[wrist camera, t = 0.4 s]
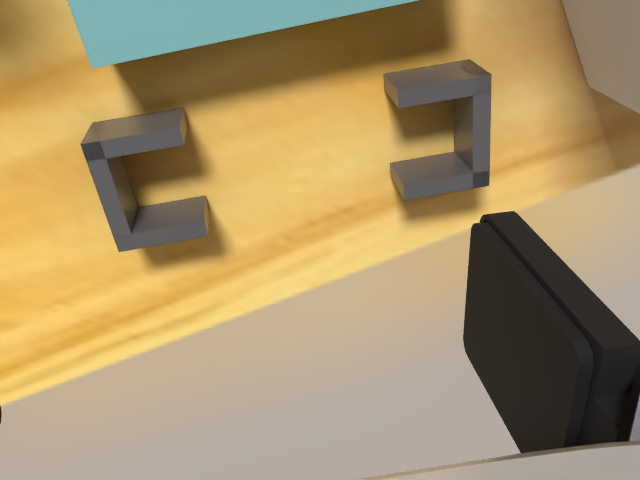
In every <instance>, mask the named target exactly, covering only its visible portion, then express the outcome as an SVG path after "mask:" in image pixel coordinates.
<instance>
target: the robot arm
mask: <svg viewBox="0 0 640 480" xmlns="http://www.w3.org/2000/svg"><path fill="white" fill-rule="evenodd" d="M463 340H464V347H465V351H466V354H467V356H468V358H469V360H470V362H471V363H472V365H473V367H474V369H475V371H476V372H477V374H478V376H479V378H480V380H481V382H482V383H483V385H484V387H485V389H486V391H487V392H488V394H489V396H490V398H491V399H492V401H493V403H494V405H495V407H496V409H497V410H498V412H499V414H500V416H501V417H502V419H503V421H504V423H505V425H506V427H507V429H508V430H509V432H510V434H511V436H512V437H513V439H514V441H515V443H516V445H517V447H518V449H519V450H520V452H521V454H515V455H508V456H502V457H496V458H489V459H482V460H476V461H470V462H462V463H456V464H450V465H444V466H437V467H431V468H425V469H418V470H412V471H406V472H400V473H393V474H387V475H381V476H375V477H368V478H362V479H356V480H640V341H639V339H638V338H637V337H636V336H635V335H634V334H633V333H632V332H631V331H630V330H629V329H628V328H627V327H626V326H625V325H624V324H623V323H622V322H621V321H620V320H619V319H618V318H617V317H616V315H615V314H614V313H613V312H612V311H611V310H610V309H609V308H608V307H607V306H606V305H605V304H604V303H603V302H602V301H601V300H600V299H599V298H598V297H597V296H596V295H595V294H594V293H593V292H592V291H591V290H590V289H589V288H588V286H586V284H584V282H582V280H581V279H580V278H579V277H578V276H577V275H576V274H575V273H574V272H573V271H572V270H571V269H570V268H569V267H568V266H567V265H566V264H565V263H564V262H563V261H562V260H561V259H560V257H559V256H557V254H556V253H555V252H554V251H553V250H552V249H551V248H550V247H549V246H548V245H547V244H546V243H545V242H544V241H543V240H542V239H541V238H540V237H539V236H538V235H537V234H536V233H535V232H534V231H533V230H532V229H531V228H530V226H529V225H528V224H527V223H526V222H525V221H524V220H523V219H522V218H521V217H520V216H519V215H518V214H517V213H516V212H514V211H510V212H502V213H494V214H486V215H483V216H482V217H481V220H480V223H475V224H473V226H472V228H471V238H470V252H469V265H468V279H467V293H466V306H465V320H464V334H463ZM0 423H1V406H0Z"/></svg>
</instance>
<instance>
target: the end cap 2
mask: <svg viewBox="0 0 640 480" xmlns="http://www.w3.org/2000/svg"><path fill="white" fill-rule="evenodd" d="M383 75H384V89H385V92H386V93H387V94H388V96H389V97H390V98H391V99H392V101H393V102H394V103H395V104H396V106H397V107H398V108H404V107H410V106H416V105H422V104H428V103H433V102H439V101H445V100H451V99H454V152H451V153H445V154H439V155H434V156H428V157H422V158H417V159H411V160H405V161H400V162H394V163H390V171H391V178H392V180H393V182H394V184H395V185H396V187H397V189H398V191H399V192H400V194H401V196H402V197H403V199H404V201H406V200H411V199H417V198H422V197H428V196H434V195H439V194H445V193H450V192H456V191H461V190H467V189H472V188H478V187H484V186H489V171H490V121H491V74H490V73H488V72H487V71H486V70H484V69H483V68H481V67H480V66H478V65H477V64H476V63H474V62H473V61H471V60H470V59H469V60H464V61H458V62H452V63H446V64H440V65H434V66H428V67H422V68H416V69H410V70H404V71H398V72H392V73H386V74H383Z"/></svg>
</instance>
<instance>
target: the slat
mask: <svg viewBox="0 0 640 480" xmlns="http://www.w3.org/2000/svg"><path fill="white" fill-rule="evenodd" d="M67 1H68V4H69V7H70V9H71V12H72V15H73V17H74V20H75V23H76V26H77V28H78V31H79V34H80V36H81V39H82V42H83V45H84V47H85V50H86V53H87V55H88V58H89V61H90V64H91V66H92V69H93V68H98V67H103V66H107V65H112V64H117V63H122V62H127V61H131V60H136V59H141V58H146V57H150V56H155V55H160V54H165V53H170V52H174V51H179V50H184V49H189V48H193V47H198V46H203V45H208V44H212V43H217V42H222V41H227V40H232V39H236V38H241V37H246V36H251V35H255V34H260V33H265V32H270V31H275V30H279V29H284V28H289V27H294V26H298V25H303V24H308V23H313V22H318V21H322V20H327V19H332V18H337V17H341V16H346V15H351V14H356V13H361V12H365V11H370V10H375V9H380V8H384V7H389V6H394V5H399V4H403V3H408V2H413V1H418V0H67Z"/></svg>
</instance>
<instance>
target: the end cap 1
mask: <svg viewBox="0 0 640 480" xmlns="http://www.w3.org/2000/svg"><path fill="white" fill-rule="evenodd" d="M186 131H187V120H186V116H185V112H184V108H177V109H171V110H165V111H160V112H154V113H148V114H142V115H136V116H130V117H124V118H118V119H112V120H106V121H100V122H94V123H92V124H91V126H90V128H89V130H88V132H87V133H86V135H85V137H84V139H83V141H82V142H81V147H82V150H83V153H84V155H85V158H86V161H87V164H88V167H89V169H90V172H91V175H92V178H93V181H94V184H95V186H96V189H97V192H98V195H99V198H100V200H101V203H102V206H103V209H104V212H105V215H106V217H107V220H108V223H109V226H110V229H111V231H112V234H113V237H114V240H115V243H116V246H117V248H118V251H119V252H122V251H127V250H133V249H139V248H144V247H150V246H155V245H161V244H166V243H172V242H178V241H183V240H189V239H194V238H200V237H205V236H208V225H209V207H208V203H207V199H206V196H201V197H195V198H189V199H184V200H178V201H172V202H167V203H161V204H155V205H150V206H144V207H138V205H137V202H136V199H135V196H134V193H133V190H132V187H131V183H130V180H129V177H128V174H127V171H126V168H125V165H124V162H123V158H122V156H124V155H130V154H135V153H141V152H147V151H153V150H159V149H165V148H171V147H176V146H182V145H185V138H186Z"/></svg>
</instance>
